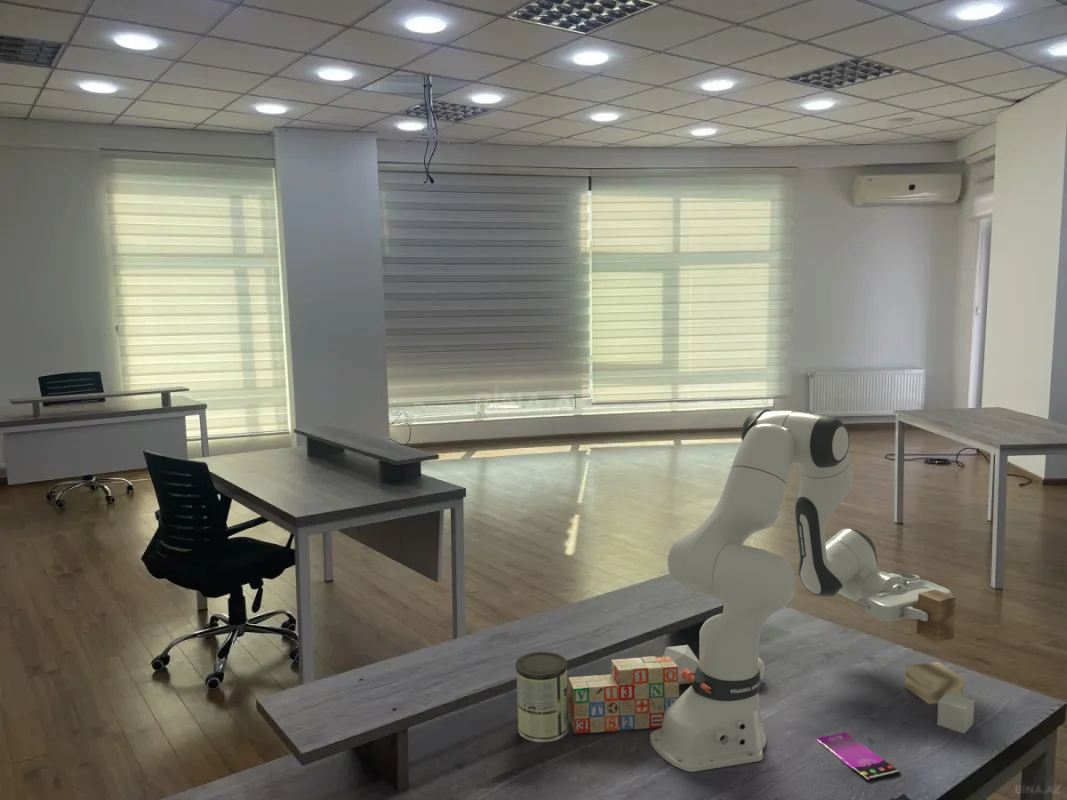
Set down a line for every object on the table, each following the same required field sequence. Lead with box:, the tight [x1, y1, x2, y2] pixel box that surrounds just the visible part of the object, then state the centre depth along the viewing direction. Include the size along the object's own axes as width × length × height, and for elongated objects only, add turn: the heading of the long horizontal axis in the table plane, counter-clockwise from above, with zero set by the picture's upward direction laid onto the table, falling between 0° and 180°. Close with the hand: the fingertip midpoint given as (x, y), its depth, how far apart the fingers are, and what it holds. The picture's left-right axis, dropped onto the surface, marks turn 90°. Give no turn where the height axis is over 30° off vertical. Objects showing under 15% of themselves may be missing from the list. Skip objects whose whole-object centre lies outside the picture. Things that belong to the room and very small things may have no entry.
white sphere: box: [758, 657, 766, 680], centre depth 184 cm, size 8×6×6 cm
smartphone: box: [815, 731, 901, 782], centre depth 152 cm, size 7×15×1 cm, turn 17°
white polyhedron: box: [661, 644, 699, 686], centre depth 183 cm, size 8×9×10 cm
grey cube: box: [936, 692, 975, 734], centre depth 162 cm, size 5×5×5 cm
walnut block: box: [916, 590, 956, 643], centre depth 173 cm, size 5×5×9 cm
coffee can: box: [515, 651, 570, 743], centre depth 164 cm, size 10×10×14 cm
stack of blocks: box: [568, 655, 680, 734], centre depth 165 cm, size 21×6×12 cm, turn 96°
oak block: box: [904, 661, 965, 705], centre depth 175 cm, size 8×8×5 cm
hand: (939, 614), depth 173 cm, fingers closed on walnut block, 5 cm apart
